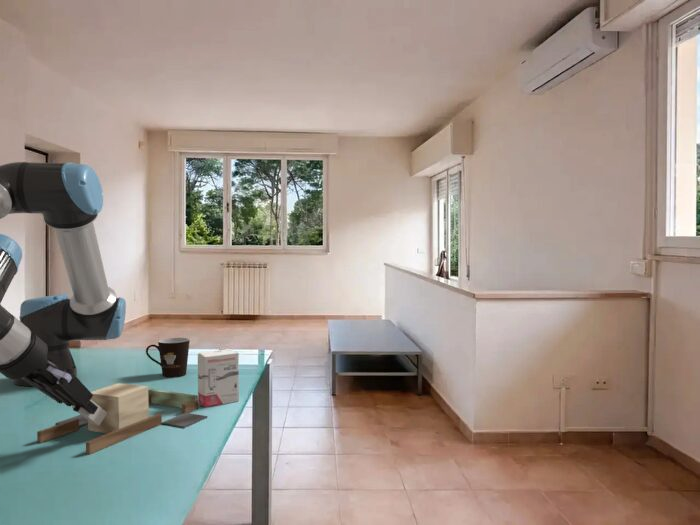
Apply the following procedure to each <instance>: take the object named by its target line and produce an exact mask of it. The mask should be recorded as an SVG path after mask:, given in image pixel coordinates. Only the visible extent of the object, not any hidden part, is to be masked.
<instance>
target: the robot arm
mask: <svg viewBox="0 0 700 525" xmlns="http://www.w3.org/2000/svg"><path fill="white" fill-rule="evenodd" d="M102 188H103V187H102V185H101V181H100V179H99V176H98V174H97V173H96V171H95V170H94V169H93V168H92V167H90V166H89V165H88V164H82V163H74V162H28V161H17V162H16V161H15V162H10V163H5V164H1V165H0V220H1V219H3V218H5V217H7V216H8V215H11V214H39V215H40V214H42V216H43V220H44V223H45V225H46V226H48V227H50V228H51V229H54V232H55V233H54V234H55V236H56V239H57V242H58V245H59V246H58V247H59V250H60V252H61V253H60V254H61V256H62V259H63V264H64V266H65V270H66V274H67V277H68V281H69V283H70V287H71V290H72V296H71V298H70V296H69V294H67V293H61V294H55V295H48V296H40V297H34V298H29V299H26V300H23V301H22V303H21V304H20V308H19V311H20V312H19V316H18V317H19V319H18V318H17V317H15V316H14V315H13V314H12V313H10V311H8V310H7V309H6V308H5V307H4V306H3V305H2V304H1V303H2V301H3V299H4V297H5V296H6V293H7V291H8V289H9V286H10V285H11V283H12V282H13V279H14V278H15V276H16V275H17V273H18V272H19V268H20V264H21V261H22V259H23V250H22V248H21V246H20V244H18V242H17V241H16V240H15V239H13V238H12V237H9V236H8V235H6V234H3V233H0V374H1V375H3V376H4V377H5V378H7V379H8V380H13V384H14V385H17V386H23V387H25V386H26V387H31V386H32V387H34V388H35V389H37V390H38V391H39V392H41V393H43V394H45V395H46V396H48V398H50V399H52V400H54V402H56V403H57V404H65V405H66V406H67V407H71V408H72V411H74V412H75V413H76V412H77V413H78V414H79V415H82V416H83V417H85V418H86V419H87V420H88V421H90V422H91V423H92V424H94V425H98V426H99V425H100V424H101V422H102V421H103V419H104V418H105V416H106V414H107V412H106V411H105V410H103V409H102V408H101V407H100V406H98V405H97V404H96V403H95V402H93V401H92V400H91V398H92V397H93V394H92V393H91V392H92V391H90V390H89V389H88V388H87V386H85V385H84V384H83V382H82V381H80V379H79V378H78V377H77V376H78V368H77V366H76V363H75V361H74V358H73V355H72V353H71V349H70V342H71V341H72V342H73V341H75V342H76V341H107V340H115V339H119V338H120V337H121V335H122V334H123V332H124V331H123V330H124V328H125V327H124V326H125V320H126V310H127V309H126V308H127V306H126V305H127V302H126V300H125V298H123V297H117V294H116V291H115V290H114V289H113V288H111V287H109V286H108V282H107V276H106V273H105V269H104V263H103V260H102V255H101V250H100V246H99V242H98V239H97V234H96V230H95V229H96V228H95V225H94V221H95V220H96V219H97V218H98V216H99V213H100V212H101V211H102V210H103V205H104V196H103V189H102Z"/></svg>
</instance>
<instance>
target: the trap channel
mask: <svg viewBox="0 0 700 525" xmlns="http://www.w3.org/2000/svg"><path fill="white" fill-rule="evenodd" d="M150 404H155V405H161V406H167V407H175V408H179V407H180V409H181V413H182V414H179V415H176V416H174V417H172V418H170V419H167V420H165V421H163V420H162V419H163V418H162V413H157V414H156V413H155V414H154V415H152V416H149V418H146V419H143V420H141V421H138V422H136V423H133V424H131V425H128V426H126V427H123V428H121V429H118V430H115V431H113V432H110V433H104V434H102V435H100V436H98V437H96V438H93V439H90V440H88V441H85V454H86V455H92V454H95V453H96V452H98V451H101V450H103V449H105V448H108V447H111V446H113V445H115V444H118V443H119V442H122V441H125V440H127V439H129V438H132V437H134V436H137V435H139V434H141V433H144V432H146V431H149V430H151V429H154V428H156V427H158V426H160V425H165V426H172V427H177V428H181V427H183V429H186V428H188V427H190V426H192V425H194V424H197V423H199V422H200V420H201V421H203V420H205V419H207V418H208V416H207V415H202V414H197V413H191V412H193V410H194V411H196V410H198V409H199V403H198V394H197V395H196V394H190V393H183V392H182V393H181V392H176V391H175V392H174V391H169V390H163V389H162V390H161V389H156V388H148V405H150ZM195 409H196V410H195ZM188 412H189V413H188ZM204 418H205V419H204ZM202 419H203V420H202ZM198 421H199V422H198ZM196 422H197V423H196ZM84 426H88V420H87V419H86V418H85V417H83V416H82V415H81V414H79V415H75V416H71V417H69V418H66V419H64V420H61V421H58V422H55V425H53V426H50V427H47V428H45V429H41V430H39V431H36V436H37V438H36V440H37V441H36V442H37V443H39V444H42V443H45V442H47V441H51V440H53V439H56V438H59V437H62V436H64V435H67V434H70V433H72V432H76V431H78V430H80V428H82V427H84ZM187 426H188V427H187ZM185 427H186V428H185Z"/></svg>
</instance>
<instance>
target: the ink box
mask: <svg viewBox="0 0 700 525" xmlns="http://www.w3.org/2000/svg"><path fill="white" fill-rule="evenodd" d="M239 361H240V360H239V352H237V351H236V350H233V349H231V348H230V349H228V348H226V349H218V350H217V349H216V350H210V351H201V352H199V353H198V354H197V396H198V405H200V406H201V407H204V408H210V407H214V405H215V406H220V404H221V405H227V404H231V403H237V402H239V400H240V380H239V379H240V370H239V369H240V368H239V367H240V366H239V363H240V362H239ZM209 406H210V407H209Z"/></svg>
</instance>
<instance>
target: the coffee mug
mask: <svg viewBox="0 0 700 525" xmlns="http://www.w3.org/2000/svg"><path fill="white" fill-rule="evenodd" d="M190 341H191V340H190V338H187V337H169V338H162V339H159V340H158V341H157V344H149V345H148V346H147V347H146V349H145V354H146V356H147V357H148V358H149V359H150V360H151V361H153V362H154V363H156V364H157V365H159V366H160V367H161V374H162V377H163V378H167V379H172V378H173V379H174V378H181V377H184V376H187V369H188V359H189V352H190V351H189V350H190ZM153 347H154V348H156V349H157V350H158V352H159V358H160V362H159V361H158V360H157V359H155V358H154V357H152V356H151V355H150V353H149V349H150V348H153Z"/></svg>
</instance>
